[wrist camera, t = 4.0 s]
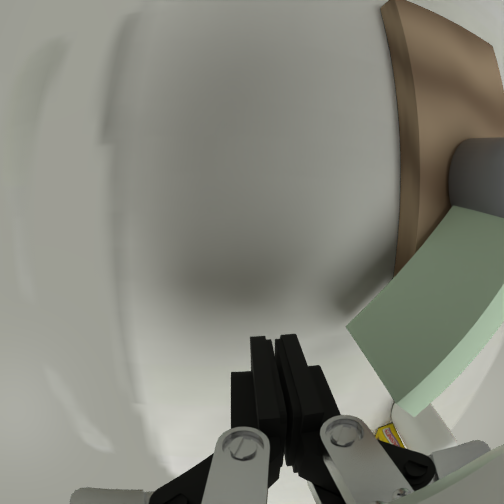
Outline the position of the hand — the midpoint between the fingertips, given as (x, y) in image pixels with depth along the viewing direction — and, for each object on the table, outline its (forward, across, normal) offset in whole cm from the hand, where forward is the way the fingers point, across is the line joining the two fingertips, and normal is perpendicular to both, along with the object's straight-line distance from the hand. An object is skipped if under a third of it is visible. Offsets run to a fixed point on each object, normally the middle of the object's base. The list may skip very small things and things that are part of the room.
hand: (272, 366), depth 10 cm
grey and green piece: (+4, -10, -4) cm, 12 cm away
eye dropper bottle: (+6, -14, +13) cm, 20 cm away
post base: (+6, -14, -7) cm, 16 cm away
